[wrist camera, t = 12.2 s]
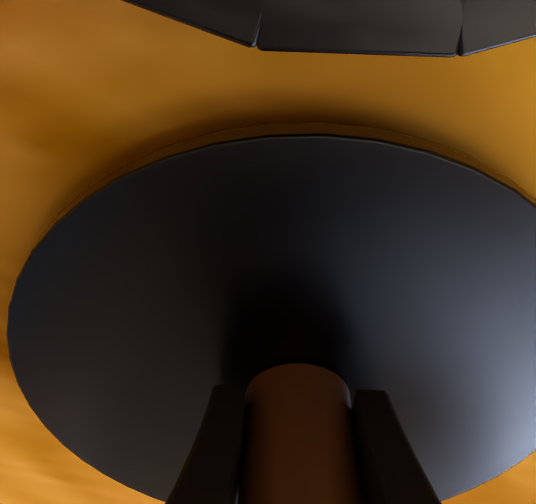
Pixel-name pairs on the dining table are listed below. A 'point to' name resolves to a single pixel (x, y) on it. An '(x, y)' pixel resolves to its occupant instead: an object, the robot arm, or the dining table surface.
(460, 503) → the dining table surface
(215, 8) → the pan
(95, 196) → the pan lid
